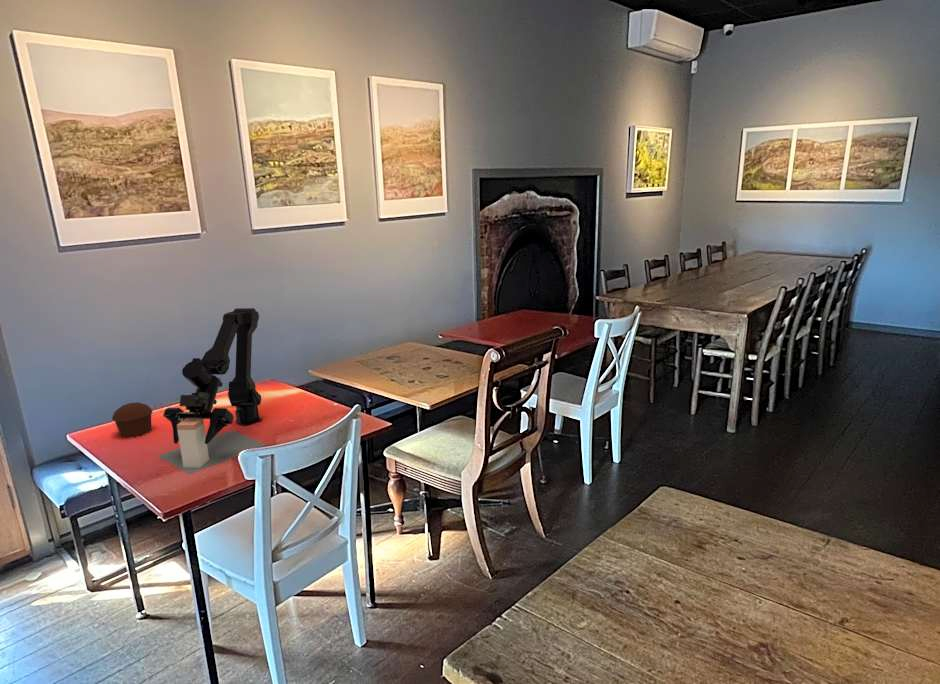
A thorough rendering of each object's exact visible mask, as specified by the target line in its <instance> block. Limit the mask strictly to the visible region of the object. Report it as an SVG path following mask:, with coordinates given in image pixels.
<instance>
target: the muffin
mask: <svg viewBox="0 0 940 684" xmlns="http://www.w3.org/2000/svg"><path fill="white" fill-rule="evenodd" d="M152 414H153V409H152V408H151V407H150V406H149V405H148V404H146V403H142V402H129V403H126V404H124V405H121V406H119V407H118V408H117V409H116V410H115V411H114V412H113V415H112V417H111V420H112V421H114V422H115V425H116V428H117V431H118V433H119V436H120V437H122V438H123V437H134V438H137V437H136V436H140V437H142V436H141V435H143V434H145V435H147V434H146V433H148V432H149V431H150V430H151V431H152ZM151 431H150V432H151ZM150 432H149V433H150ZM149 433H148V434H149ZM143 436H144V435H143Z"/></svg>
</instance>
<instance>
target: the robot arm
mask: <svg viewBox="0 0 940 684" xmlns="http://www.w3.org/2000/svg"><path fill="white" fill-rule="evenodd" d="M259 319H260V314H259V312H258V311H256V309H255V308H254V307H253V308H251V307H248V308H247V307H244V308H242V307H241V308H239V307H238V308H234V310H232V311H228V312H226V313H224V314H223V316H222V323H221V325H220V327H219V330H218V332H217V335H216V337H215V339H214V340H215V341H214V343H213V345H212V347H211V348H210V349H208V350H207V351H205V353H204V355H203V356H202V358H200V357H194V358H192V360H191V361H190V362H188V363H186V364H185V365H184V367H182V371H181V373H182V374H181V375H182V376H183V377H184V378H185V379H186V381H188V382H189V383H191V384H192V385H193V386H194V387H196V389H195V392H192V393H191V394H181V395H180V398H179V399H180V400H179V407H167V408H165V410H164V412H163V414H162V415H163V418H165V419H166V420H167V421H169V422H170V424H171V426H172V437H173V444H175V445H177V444H178V443H179V436H178V430H177V424H179V423H180V422H182V421H183V420H185V419H186V418H203V420H206V419H207V420H209V425H208V429H207V432H206V438H205V444H208V443H209V442H210V441H211V440H212V439H213V438H214V436H216V435H218V433H219V432H221V430H223V429H224V428H226V427H228V425H233V422H234V420H235V419H236V420H235V422H236V423H237V424H240V425H242V426H245V427H247V426H249V425H251V424H252V425H253V424H254V423H257V422H261V421H263V418H262V417H260V415H259V407H258V406H260V405H261V403H262V395H261V394H260V393H259V392H258V391H257V390H256V383H255V381H254V380H253V378H252V376H251V374H252V372H251V371H252V347H253V344H252V343H253V334H254V333H255V331H256V329H257V328H258V323H259ZM235 337H236V343H235V347H236V348H235V372H234V377H233V379H232V380H231V381H229V382H228V390H227V391H228V392H227V397H228V400H229V403H230V405H231V407H235V408H236V409H235V416H234V414H233V413H232V412H231V411H230V410H229V409H228V408H226V407H214V405H217V402H218V401H217V400H216V397H217V394H218V390H219V388H220V387H223V385H224V384H223V382H222V381H221V378H220V377H217V375H219V376H221V375H226V374H227V373H228V371H229V369H230V363H231V359H230V356H229V353H230V349H231V348H232V345H233V342H234V339H235ZM180 407H185V410H187V411H184V410H182V408H180ZM213 407H214V408H213ZM234 417H235V419H234Z"/></svg>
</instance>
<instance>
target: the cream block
mask: <svg viewBox="0 0 940 684" xmlns="http://www.w3.org/2000/svg"><path fill="white" fill-rule="evenodd" d="M204 421H205V420H204V419H203V418H186V419H185V420H183V421H182V422H180V423H179V424H177V430H178V436H179V441H178V443H179V448H180V449H181V455H182V461H183V467H193V468H200V467H201V466H203V465H204V464H205V463H206V462H207V461H208V460H209V455H208V448H207V444H205V438H206V435H207V433H206V428H205V422H204Z"/></svg>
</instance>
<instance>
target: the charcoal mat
mask: <svg viewBox="0 0 940 684" xmlns="http://www.w3.org/2000/svg"><path fill="white" fill-rule="evenodd" d="M264 446H266V443H262V442H260V441H258V440H256V439H254V438H251V437H249V436H247V435H245V434H243V433H240V432H238V431H235V430H234V429H232V430H228V431H226V432H222V433H219V434H216V435H215V436H214V438H213V439H212V440H211V441H210V442H209V443H208V444H207V448H208V455H209V460H208V461H207V462H206V463H205V464H204V465H203V466H201V467H200V468H193V467H183V461H182V455H181V449H180V447H178V448H176V449H172V450H171V451H167V452H164V453H161V454H159V455H157V457H158V458H160V459H162V460H164V461H166V462H168V463H169V464H171V465H173V466H174V467H176V468H178V469H180V470H181V471H183V472H184V473H186V474H188V475H191V474H194V473H197V472H199V471H201V470H204V469H207V468H210V467H212V466H214V465H217V464H220V463H223V462H225V461H228V460H230V459H233V458H236V457H238V454H239V452H241V451H243V450H246V449H251V448H257V449H260V448H262V447H264ZM259 447H260V448H259Z"/></svg>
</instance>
